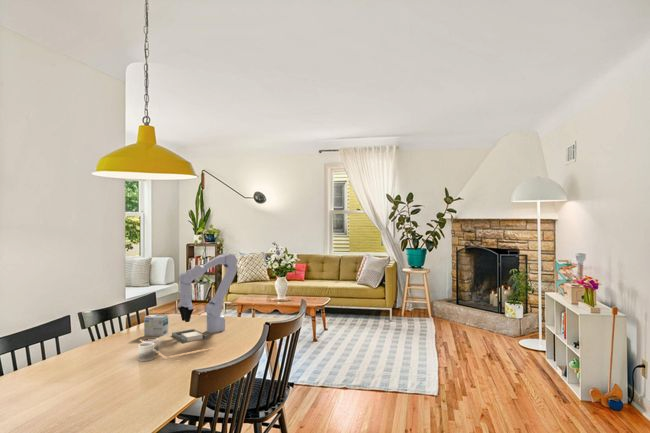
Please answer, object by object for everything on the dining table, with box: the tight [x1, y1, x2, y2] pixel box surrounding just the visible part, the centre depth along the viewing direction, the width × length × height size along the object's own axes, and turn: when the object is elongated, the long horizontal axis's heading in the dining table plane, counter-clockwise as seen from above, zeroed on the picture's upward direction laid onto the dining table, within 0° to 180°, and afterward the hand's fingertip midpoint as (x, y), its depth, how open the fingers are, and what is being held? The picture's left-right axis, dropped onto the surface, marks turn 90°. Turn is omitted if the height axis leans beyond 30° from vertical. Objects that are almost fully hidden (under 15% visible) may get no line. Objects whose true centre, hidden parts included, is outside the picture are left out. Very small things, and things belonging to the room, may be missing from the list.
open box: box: [171, 328, 208, 344], centre depth 226 cm, size 12×17×2 cm
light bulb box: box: [143, 314, 169, 337], centre depth 233 cm, size 11×7×11 cm, turn 84°
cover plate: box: [181, 330, 204, 343], centre depth 224 cm, size 8×8×2 cm
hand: (185, 321), depth 230 cm, fingers open, 4 cm apart
